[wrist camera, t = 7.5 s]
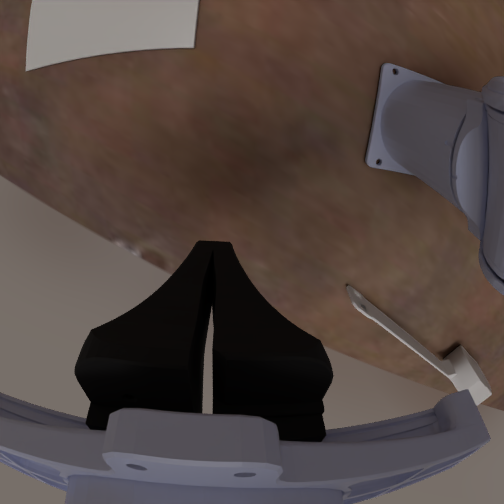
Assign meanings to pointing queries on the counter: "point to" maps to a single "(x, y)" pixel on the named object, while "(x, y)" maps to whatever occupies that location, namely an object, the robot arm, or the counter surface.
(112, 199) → the counter surface
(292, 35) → the counter surface
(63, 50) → the board
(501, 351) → the counter surface
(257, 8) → the counter surface
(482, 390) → the white long handled piece
